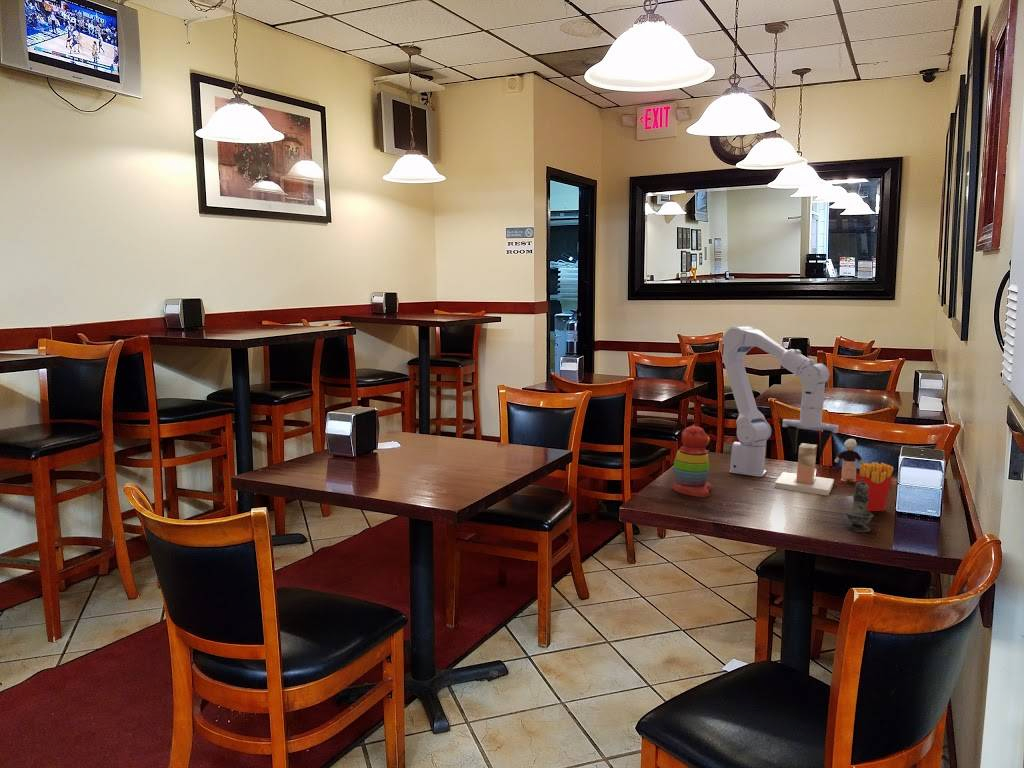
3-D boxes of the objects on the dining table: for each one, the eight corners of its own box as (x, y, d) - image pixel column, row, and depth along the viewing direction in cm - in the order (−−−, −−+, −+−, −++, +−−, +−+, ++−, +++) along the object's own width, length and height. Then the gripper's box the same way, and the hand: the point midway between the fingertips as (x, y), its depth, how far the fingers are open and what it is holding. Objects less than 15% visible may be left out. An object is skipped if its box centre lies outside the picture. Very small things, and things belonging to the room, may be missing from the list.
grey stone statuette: (839, 523, 184) (844, 475, 182) (863, 524, 185) (868, 475, 183) (852, 532, 178) (857, 481, 177) (876, 532, 179) (881, 482, 177)
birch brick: (797, 464, 215) (799, 446, 214) (800, 460, 220) (802, 443, 220) (812, 466, 213) (814, 448, 212) (815, 462, 218) (816, 444, 218)
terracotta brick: (796, 481, 216) (797, 464, 215) (798, 477, 221) (800, 460, 220) (811, 483, 214) (813, 466, 213) (813, 479, 219) (815, 462, 218)
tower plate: (774, 487, 215) (775, 482, 215) (782, 476, 227) (783, 471, 227) (828, 495, 208) (829, 490, 208) (833, 484, 221) (834, 478, 220)
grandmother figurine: (858, 480, 226) (862, 438, 224) (862, 483, 222) (867, 440, 221) (831, 478, 227) (835, 436, 225) (835, 482, 223) (839, 439, 221)
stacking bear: (708, 498, 202) (713, 431, 199) (669, 493, 205) (673, 427, 203) (712, 488, 212) (717, 424, 209) (675, 483, 215) (679, 421, 213)
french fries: (859, 511, 195) (864, 465, 193) (851, 506, 199) (856, 461, 197) (891, 511, 196) (896, 465, 194) (883, 507, 199) (888, 462, 198)
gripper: (782, 406, 214) (778, 453, 216) (838, 412, 208) (833, 461, 210) (786, 402, 221) (782, 449, 222) (840, 408, 214) (836, 456, 216)
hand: (807, 454), depth 216 cm, fingers open, 6 cm apart
